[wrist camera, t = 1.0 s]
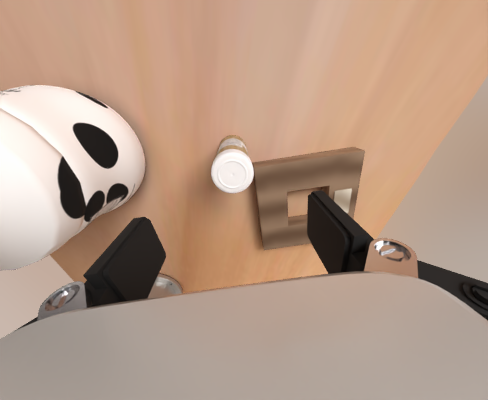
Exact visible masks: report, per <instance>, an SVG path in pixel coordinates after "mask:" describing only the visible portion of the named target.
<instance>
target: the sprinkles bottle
mask: <svg viewBox="0 0 488 400" xmlns="http://www.w3.org/2000/svg"><path fill="white" fill-rule="evenodd" d="M253 176H254V169H253V165H252V162H251V160H250V158H249V156H248V152H247V149H246V145H245V142H244V141H243V140H242V139H241V138H240V137H238V136H236V135H229V136H227V137H225V138H224V139H223V140H222V142H221V144H220V148H219V150H218V153H217V156H216V158H215V159H214V161H213V164H212V168H211V177H212V180H213V182H214V184H215V185H216V186H217V187H218V188H219V189H220V190H222V191H224V192H227V193H238V192H241V191H243V190H245V189H246V188H247V187H248V186H249V185H250V184H251V182H252V180H253Z"/></svg>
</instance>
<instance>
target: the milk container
mask: <svg viewBox="0 0 488 400" xmlns="http://www.w3.org/2000/svg"><path fill="white" fill-rule="evenodd" d="M144 174H145V157H144V152H143V149H142V146H141V144H140V142H139V139H138V137H137V136H136V134H135V132H134V131H133V130H132V128H131V127H130V126H129V124H128V123H127V122H126V121H125V120H124V119H123V118H122V117H121V116H120V115H119V114H118V113H117V112H116V111H114V110H113V109H112V108H110V107H109V106H107V105H106V104H104V103H103V102H101V101H99V100H97V99H95V98H93V97H90V96H88V95H85V94H83V93H80V92H77V91H74V90H70V89H66V88H61V87H55V86H47V85H30V86H22V87H16V88H12V89H8V90H4V91H0V270H16V269H18V268H21V267H24V266H27V265H30V264H32V263H35V262H38V261H39V260H41V259H43V258H45V257H47V256H48V255H50V254H51V253H53V252H54V251H56V250H57V249H59V248H60V247H61V246H63V245H64V244H65V243H66V242H67V241H68V240H69V239H70V238H71V237H73V236H75V235H77V234H78V233H79V232H81V231H82V230H83V229H84V228H85V227H86V226H87V225H89V224H90V223H91V222H92V221H93V220H94V219H95V218H97V217H98V216H100V215H102V214H104V213H107V212H110V211H112V210H114V209H116V208H118V207H120V206H121V205H123V204H124V203H125V202H127V201H128V200H129V199H130V198H131V197H132V196H133V195H134V194H135V192H136V191H137V189H138V188H139V186H140V184H141V182H142V180H143V178H144Z"/></svg>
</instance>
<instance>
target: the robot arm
mask: <svg viewBox="0 0 488 400" xmlns="http://www.w3.org/2000/svg"><path fill="white" fill-rule="evenodd" d="M307 235H308V238H309V240H310V242H311V243H312V245H313V247H314V249H315V250H316V252H317V254H318V256H319V258H320V259H321V261H322V263H323V265H324V266H325V268H326V270H327V272H328V274H323V275H315V276H306V277H298V278H291V279H283V280H276V281H268V282H261V283H253V284H246V285H238V286H231V287H224V288H217V289H209V290H202V291H195V292H188V293H182V292H183V291H182V288H181V286H180V284H179V283H178V282H177V281H176V280H174V279H173V278H171V277H168V276H166V275H162V274H159V272H160V269H161V267H162V265H163V263H164V260H165V258H166V253H165V251H164V248H163V246H162V244H161V242H160V240H159V238H158V236H157V234H156V232H155V229H154V227H153V225H152V223H151V221H150V220H149V219H147V218H146V217H140V218H134V219H133V220H132V221H131V222H130V223H129V224H128V225H127V227H126V228H125V229H124V230H123V231H122V232H121V233H120V234H119V236H118V237H117V238H116V239H115V240H114V241H113V242H112V243H111V245H110V246H109V247H108V248H107V249H106V250H105V251H104V253H103V254H102V255H101V256H100V257H99V258H98V259H97V260H96V262H95V263H94V264H93V265H92V266H91V267H90V268H89V269H88V271H87V272H86V273H85V274H84V275H83V276H84V277H85V278H86V279H87V281H86V282H85V283H83V282H80V281H78V282H73V283H69V284H67V285H65V286H63V287H61V288H60V289H58V290H56V291H55V292H54V293H52V294H51V295H50V296H49V297H48V298H47V299H46V300H45V301H44V302H43V303H42V305H41V306H40V309H39V313H38V317H37V318H35V319H33V320H32V321H30V322H28V323H27V324H25V325H23V326H22V327H20V328H18V329H17V330H15V331H14V332H12V333H10V334H8V335H6V336H5V337H3V338H1V339H0V400H488V283H486V282H483V281H480V280H476V279H473V278H470V277H467V276H464V275H461V274H458V273H455V272H452V271H449V270H446V269H443V268H440V267H436V266H433V265H430V264H427V263H424V262H421V261H418V260H417V256H416V253H415V252H414V251H413V250H412V249H411V248H410V247H408V246H407V245H406V244H403V243H401V242H399V241H396V240H393V239H387V238H379V239H375V240H374V239H373V238H372V237H371V236H370V235H369V234H368V233H367V232H366V231H365V230H364V229H363V228H362V227H361V226H360V225H359V224H358V223H356V222H355V221H354V220H353V219H352V218H351V217H350V216H349V215H348V214H347V213H346V212H345V211H344V210H343V209H342V208H341V207H340V206H339V205H338V204H336V203H335V202H334V201H333V200H332V199H331V198H330V197H329V196H328V195H327V194H326V193H325V192H324V191H323V190H320V191H314V192H311V194H310V195H308V214H307Z"/></svg>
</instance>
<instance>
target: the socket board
mask: <svg viewBox="0 0 488 400" xmlns="http://www.w3.org/2000/svg"><path fill="white" fill-rule="evenodd" d="M364 153H365V151H364V150H361V149H358V148H355V147H351V148H344V149H338V150H331V151H325V152H318V153H312V154H305V155H299V156H293V157H286V158H280V159H273V160H267V161H260V162H254V163H252V164H253V169H254V180H255V188H256V196H257V204H258V212H259V220H260V229H261V237H262V243H263V248H264V250H269V249H276V248H283V247H289V246H296V245H303V244H310V243H311V242H310V240H309V238H308V235H307V215H300V216H293V217H288V203H287V192H290V191H296V190H303V189H310V188H316V187H322V189H321V190H323V191H324V192H325V193H326V194H327V195H328V196H329V197H330V198H331V199H332V200H333V201H334V202H335V203H336V204H338V205H339V206H340V207H341V208H342V209H343V210H344V211H345V212H346V213H347V214H348V215H349V216H350V217H351V218H352V219H353V217H354V211H355V206H356V200H357V194H358V188H359V182H360V176H361V171H362V165H363V159H364Z"/></svg>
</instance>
